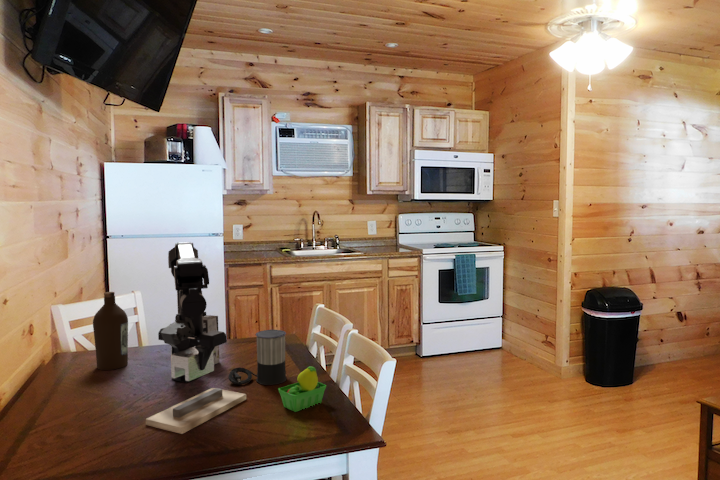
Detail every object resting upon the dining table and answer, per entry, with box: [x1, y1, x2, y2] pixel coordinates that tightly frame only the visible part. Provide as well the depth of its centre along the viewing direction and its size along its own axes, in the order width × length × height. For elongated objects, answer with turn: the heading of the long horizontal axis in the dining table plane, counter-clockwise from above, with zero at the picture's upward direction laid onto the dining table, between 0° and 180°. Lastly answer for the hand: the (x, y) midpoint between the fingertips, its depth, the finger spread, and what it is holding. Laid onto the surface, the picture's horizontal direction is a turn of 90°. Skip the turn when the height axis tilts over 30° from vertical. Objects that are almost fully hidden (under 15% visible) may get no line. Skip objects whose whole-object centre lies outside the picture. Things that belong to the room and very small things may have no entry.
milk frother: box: [227, 329, 288, 386], centre depth 160 cm, size 14×16×15 cm
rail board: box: [145, 387, 247, 435], centre depth 137 cm, size 24×12×4 cm, turn 154°
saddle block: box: [170, 347, 215, 382], centre depth 136 cm, size 9×6×6 cm, turn 153°
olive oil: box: [92, 291, 129, 371], centre depth 176 cm, size 11×11×25 cm
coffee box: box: [203, 314, 220, 365], centre depth 178 cm, size 9×6×16 cm
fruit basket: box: [277, 365, 327, 413], centre depth 140 cm, size 11×9×11 cm
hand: (193, 368), depth 137 cm, fingers closed on saddle block, 6 cm apart
